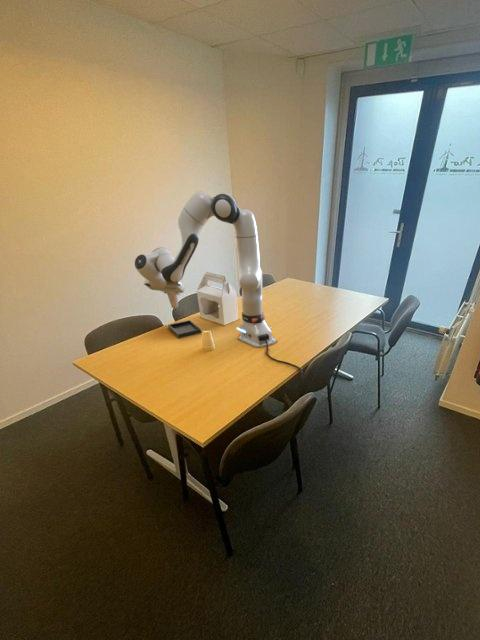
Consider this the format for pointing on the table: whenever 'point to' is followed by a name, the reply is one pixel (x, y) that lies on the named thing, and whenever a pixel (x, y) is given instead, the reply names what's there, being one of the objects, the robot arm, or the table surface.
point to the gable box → (217, 300)
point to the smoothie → (173, 299)
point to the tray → (184, 329)
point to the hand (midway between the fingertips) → (172, 293)
